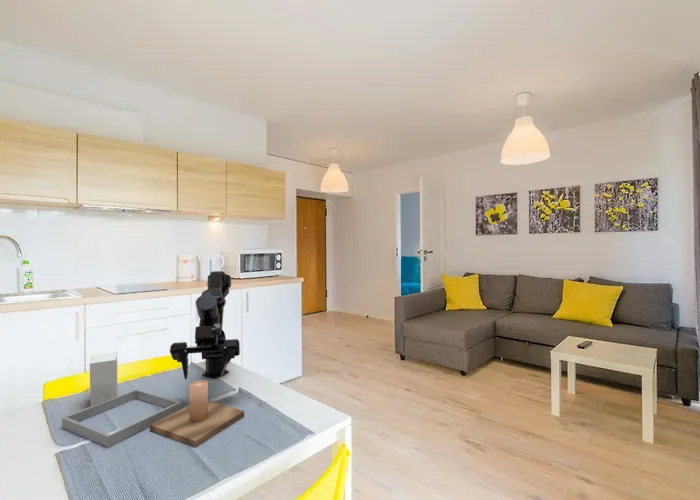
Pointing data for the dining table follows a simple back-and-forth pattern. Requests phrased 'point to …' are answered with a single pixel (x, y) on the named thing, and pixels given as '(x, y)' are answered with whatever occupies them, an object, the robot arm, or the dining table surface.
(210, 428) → the board
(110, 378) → the small box
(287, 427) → the dining table surface
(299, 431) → the dining table surface
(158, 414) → the tray
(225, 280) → the robot arm
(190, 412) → the copper brown cylinder
